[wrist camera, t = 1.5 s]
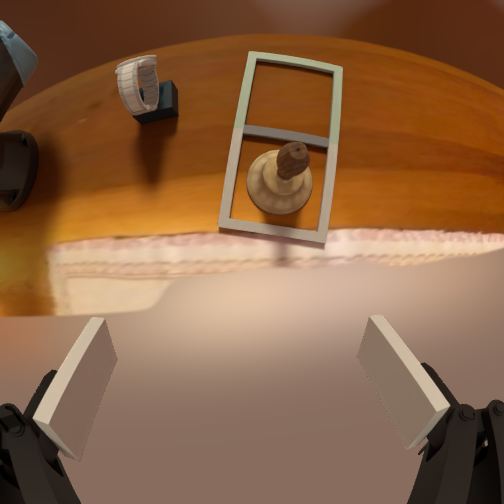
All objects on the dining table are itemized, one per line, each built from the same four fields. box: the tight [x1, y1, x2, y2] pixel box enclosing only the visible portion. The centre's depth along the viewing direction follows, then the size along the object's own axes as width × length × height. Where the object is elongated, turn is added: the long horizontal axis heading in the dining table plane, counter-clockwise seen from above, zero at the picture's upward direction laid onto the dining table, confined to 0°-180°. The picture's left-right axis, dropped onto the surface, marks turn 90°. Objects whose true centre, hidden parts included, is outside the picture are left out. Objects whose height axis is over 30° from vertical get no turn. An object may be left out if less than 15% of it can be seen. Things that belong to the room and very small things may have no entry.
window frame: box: [218, 51, 343, 243], centre depth 32 cm, size 13×26×1 cm, turn 171°
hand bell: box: [246, 142, 313, 215], centre depth 26 cm, size 8×8×16 cm
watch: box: [115, 55, 179, 124], centre depth 27 cm, size 6×8×11 cm
